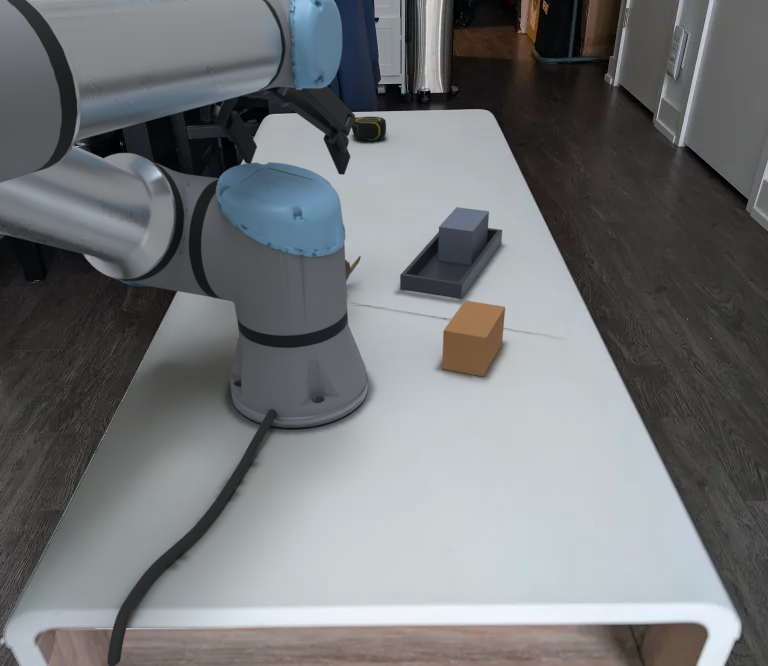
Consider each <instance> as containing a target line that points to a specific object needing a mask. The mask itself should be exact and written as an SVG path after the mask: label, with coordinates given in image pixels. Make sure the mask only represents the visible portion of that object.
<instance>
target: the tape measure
mask: <svg viewBox="0 0 768 666" xmlns="http://www.w3.org/2000/svg"><path fill="white" fill-rule="evenodd" d="M351 131H352V134H353V137H355V138H356V139H359V140H366V141H367V142H374V141H375V142H376V141H377V140H378V139H382V138H384V137H385V136H386V134H387V120H386V119H385V118H384V117H380V116H359V117H356V116H355V118H354V121H353V124H352V127H351Z"/></svg>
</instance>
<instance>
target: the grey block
mask: <svg viewBox="0 0 768 666" xmlns="http://www.w3.org/2000/svg"><path fill="white" fill-rule="evenodd" d="M489 218H490V211H489V210H484V209H474V208H466V207H457V206H456V207H455V208H454V209H453V210H452V212H451V213H450V214H449V215H448V216H447V217H446V218H445V219H444V220H443V222H442V223H440V225H439V226H438V232H439V243H438V261H443V262H450V263H457V264H464V265H472V264H473V262H474V261H475V260H476V258H477V257H478V256H479V254H480V253H481V252H482V250H483V249H484V248H485V246H486V245H487V235H488V228H489Z"/></svg>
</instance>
